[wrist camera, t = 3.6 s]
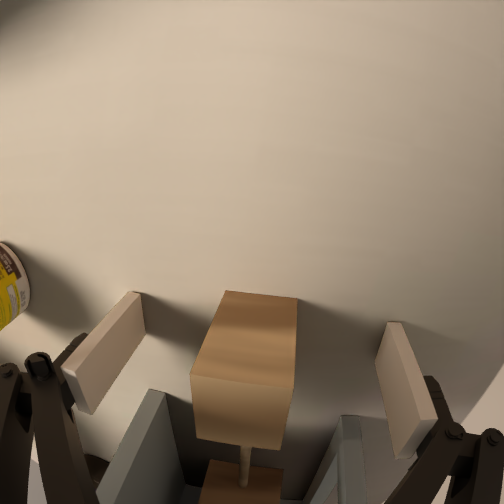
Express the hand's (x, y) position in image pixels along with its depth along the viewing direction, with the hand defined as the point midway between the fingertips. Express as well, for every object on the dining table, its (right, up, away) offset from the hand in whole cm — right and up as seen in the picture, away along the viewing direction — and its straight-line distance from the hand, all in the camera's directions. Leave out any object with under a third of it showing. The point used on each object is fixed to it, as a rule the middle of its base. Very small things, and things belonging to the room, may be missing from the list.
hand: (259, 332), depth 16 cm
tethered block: (-1, -8, +4) cm, 9 cm away
